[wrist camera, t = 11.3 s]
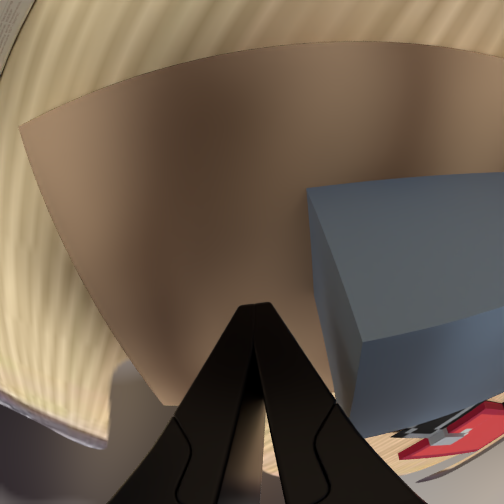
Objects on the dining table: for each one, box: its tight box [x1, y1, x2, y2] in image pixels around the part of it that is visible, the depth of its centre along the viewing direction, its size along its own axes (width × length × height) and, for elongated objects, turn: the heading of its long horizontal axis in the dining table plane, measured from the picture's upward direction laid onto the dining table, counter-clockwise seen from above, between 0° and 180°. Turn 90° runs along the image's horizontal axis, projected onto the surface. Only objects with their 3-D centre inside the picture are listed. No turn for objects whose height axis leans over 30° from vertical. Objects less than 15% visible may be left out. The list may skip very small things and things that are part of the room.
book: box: [306, 172, 504, 438], centre depth 7 cm, size 11×4×6 cm, turn 99°
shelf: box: [19, 41, 504, 406], centre depth 9 cm, size 22×15×6 cm
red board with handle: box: [391, 400, 504, 460], centre depth 24 cm, size 30×3×15 cm
